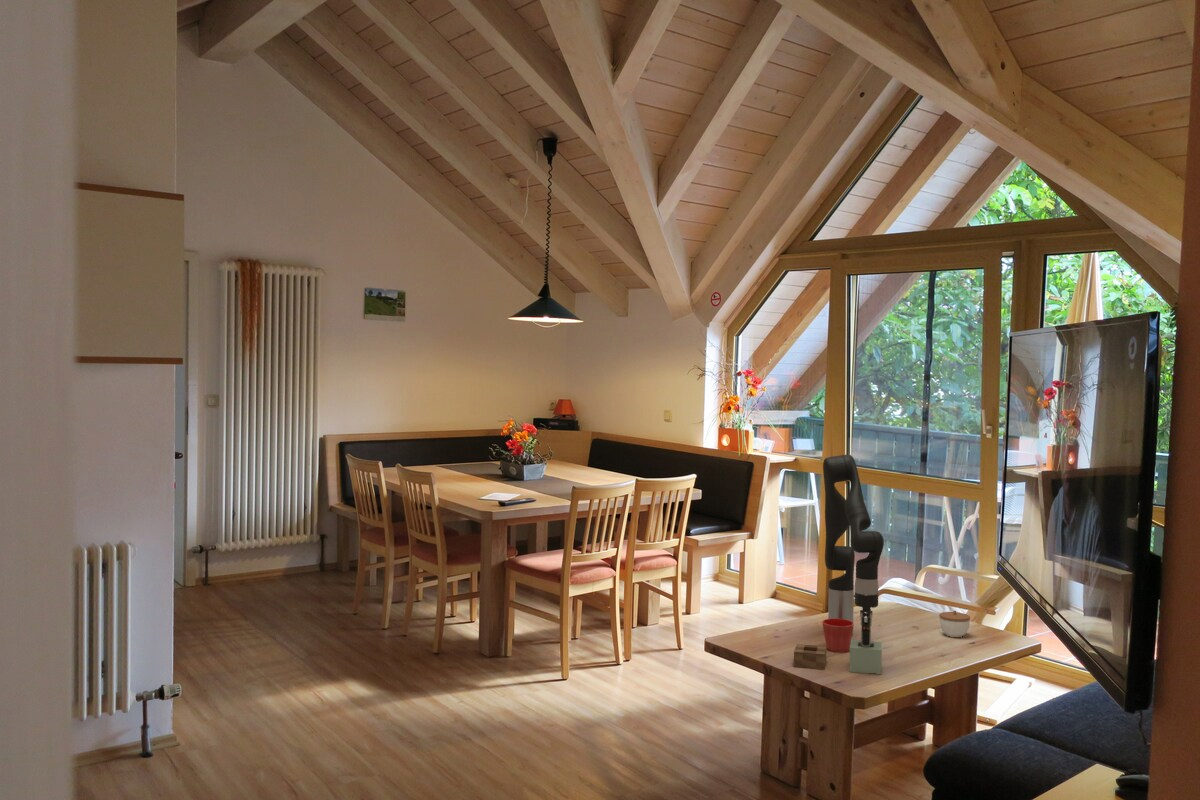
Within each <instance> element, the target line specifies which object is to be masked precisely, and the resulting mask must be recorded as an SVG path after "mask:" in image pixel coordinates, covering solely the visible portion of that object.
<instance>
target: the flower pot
mask: <svg viewBox="0 0 1200 800" xmlns="http://www.w3.org/2000/svg"><path fill="white" fill-rule="evenodd" d="M822 629H823V634H824V640H825V646H827V650H829V651H832V652H834V653H835V652H836V653H837V652H838V653H846V652H848V651H850V643H851V640H852V636H853V635H852V631H853V632H854V621H853V622H852V621H849V620H846V619H837V618H833V619H828V618H826V619H823V620H822Z"/></svg>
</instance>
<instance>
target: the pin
mask: <svg viewBox="0 0 1200 800" xmlns="http://www.w3.org/2000/svg"><path fill="white" fill-rule="evenodd" d="M860 627H861V629H860V630H861V631H860V633H861V634H860V635H861V636H860V639H861V646H862V647H871V641H872V639H871V638H872V637H871V630H872V626H871V627H870V634H869V645H863V644H862V626H861V625H860ZM864 629H868V627H864Z"/></svg>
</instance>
